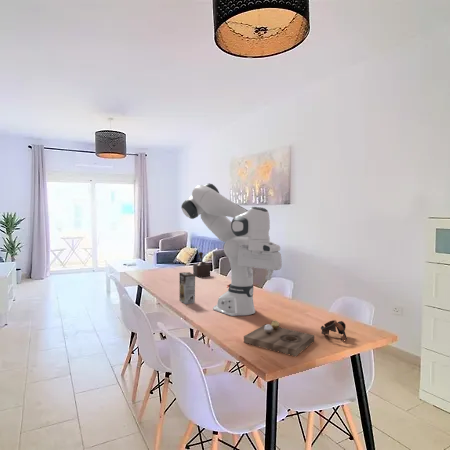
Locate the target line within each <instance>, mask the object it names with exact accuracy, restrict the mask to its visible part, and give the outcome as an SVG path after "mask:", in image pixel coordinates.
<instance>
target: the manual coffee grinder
mask: <svg viewBox="0 0 450 450" xmlns="http://www.w3.org/2000/svg"><path fill="white" fill-rule="evenodd" d="M198 255H199V257H198V258H197V260H200V259H201V260H200V261H199V262H198V263H193V265H192V266H193V268H192V271H193V273H192V274H194V275H195V278H196V277H197V278H200V279H201V278H207V277H211V264H209V263H208V262H206V261H203V258H204V256H203V255H204V253H203V252H202V251H200V252H198Z"/></svg>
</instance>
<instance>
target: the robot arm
mask: <svg viewBox="0 0 450 450" xmlns="http://www.w3.org/2000/svg"><path fill="white" fill-rule="evenodd" d="M181 210H182V213H183V214H184V215H185V217H187V218H189V219H192V220H194V219H196V218H198V217H199V216H200V220H202V222H203V224H204V225H205V226H206V227H207V228H208V230H210V232H211V233H212V234H213V235H214V236H215V237H216V238H217V239H218V240H220V241H221V242H224V245H223V252H224V255H225V256H226V257H227V258H228V262H229V265H230V281H231V283H230V284H228V285H226V288H228V289H227V291H225V292H224V293H223V294H221V295H220V296H219V298H218V299H217V303H216V305H214V306H213V307H212V311H215V312H218V313H221V314H225V315H228V316H231V317H234V316H235V317H236V316H250V315H252V314H253V315H254V314H255V313H256V308H255V303H254V284H253V281H254V279H253V278H254V270H253V268H254V269H262V270H267V273H268V274H267V275H265V281H271V280H272V275H273V273H274V271H280V270H281V269H282V264H283V263H282V254H281V252H280V251H281V246H280V245H279V244H276V243H274V242H272V241H270V240H271V239H270V236H269V235H270V233H269V232H270V229H271V228H270V227H271V226H270V224H271V222H270V221H271V220H270V213H269V211H268V209H266V208H264V207H259V206H252V207H250V208H249V209H246V208H244V207H242V206H241V205H239V204H238V203H235V202H233V201H232V200H231V199H228V198H227V197H225V196H224V195H222V194H221V193H220V191H219V189H218V188H217V187H216V186H215V184H213V183H206V184H199V185H197V186H195V187H194V188H193V190H192V192H191V195H190V196H189V197H188V198H187V199H186V200H184V201H183V202H182V203H181ZM228 217H229V218H232V220H230V219H229V218H228Z"/></svg>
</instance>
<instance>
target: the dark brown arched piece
mask: <svg viewBox="0 0 450 450" xmlns="http://www.w3.org/2000/svg"><path fill="white" fill-rule="evenodd" d="M323 324H324V325H321V327H320V330H321V334H322V335H324V336H326V335H328V336H330V332H334V333H338V334H339V335H342V336H341V337H340V338H341V340H342V342H343V341H344V340H346V339H347V340H348V337H347V333H346V332H345V331H346V327H347V326H346V323H345V322H344V321H343V320H339V321H338V322H337V320H336V319H332V320H330V321H328V322H326V323H323ZM325 334H326V335H325ZM347 340H346V341H347Z"/></svg>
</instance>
